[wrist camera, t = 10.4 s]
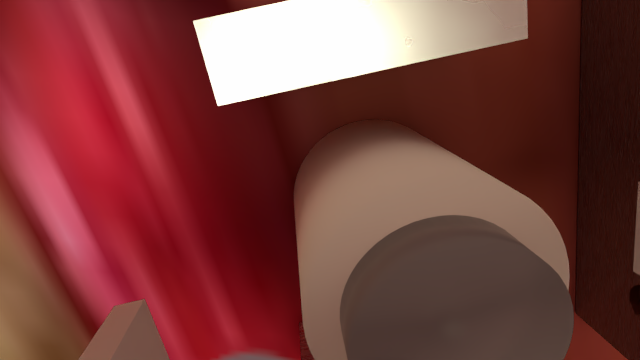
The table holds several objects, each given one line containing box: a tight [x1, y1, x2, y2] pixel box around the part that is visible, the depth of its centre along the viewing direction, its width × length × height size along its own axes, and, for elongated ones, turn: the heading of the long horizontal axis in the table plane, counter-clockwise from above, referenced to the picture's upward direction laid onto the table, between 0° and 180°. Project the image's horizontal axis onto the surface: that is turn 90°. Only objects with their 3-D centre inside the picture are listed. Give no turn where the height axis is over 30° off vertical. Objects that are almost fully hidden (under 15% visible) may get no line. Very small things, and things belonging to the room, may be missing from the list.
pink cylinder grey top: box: [294, 119, 574, 360], centre depth 11 cm, size 6×6×8 cm
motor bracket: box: [193, 0, 640, 360], centre depth 11 cm, size 18×16×9 cm
